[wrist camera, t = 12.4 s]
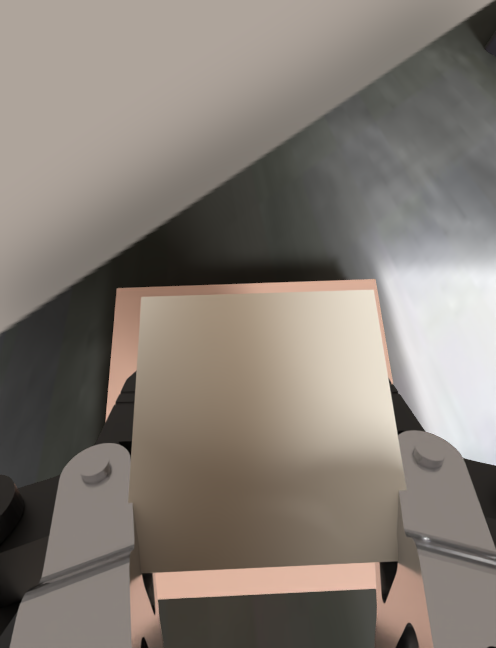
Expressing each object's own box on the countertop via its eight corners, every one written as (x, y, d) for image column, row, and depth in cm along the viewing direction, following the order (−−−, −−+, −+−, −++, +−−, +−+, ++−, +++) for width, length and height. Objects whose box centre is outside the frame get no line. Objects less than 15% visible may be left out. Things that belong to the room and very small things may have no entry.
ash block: (299, 365, 15) (374, 289, 6) (309, 473, 14) (418, 560, 5) (201, 369, 15) (140, 296, 6) (200, 477, 14) (123, 574, 5)
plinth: (359, 297, 23) (375, 279, 20) (398, 559, 18) (427, 585, 15) (133, 305, 23) (116, 288, 20) (115, 573, 18) (89, 602, 15)
